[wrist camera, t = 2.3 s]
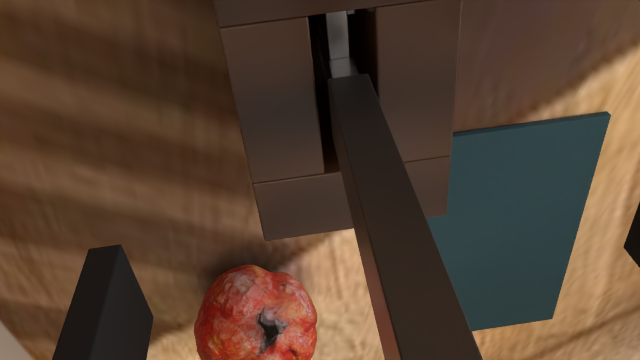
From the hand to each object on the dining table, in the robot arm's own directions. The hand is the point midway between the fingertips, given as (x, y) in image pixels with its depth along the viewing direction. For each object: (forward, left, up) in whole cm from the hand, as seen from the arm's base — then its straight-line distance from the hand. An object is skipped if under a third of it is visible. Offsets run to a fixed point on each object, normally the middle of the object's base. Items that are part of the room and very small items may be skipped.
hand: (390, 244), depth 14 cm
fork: (0, 0, -14) cm, 14 cm away
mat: (+16, +9, -14) cm, 23 cm away
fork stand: (0, 0, -14) cm, 14 cm away
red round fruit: (+17, -6, -14) cm, 23 cm away
